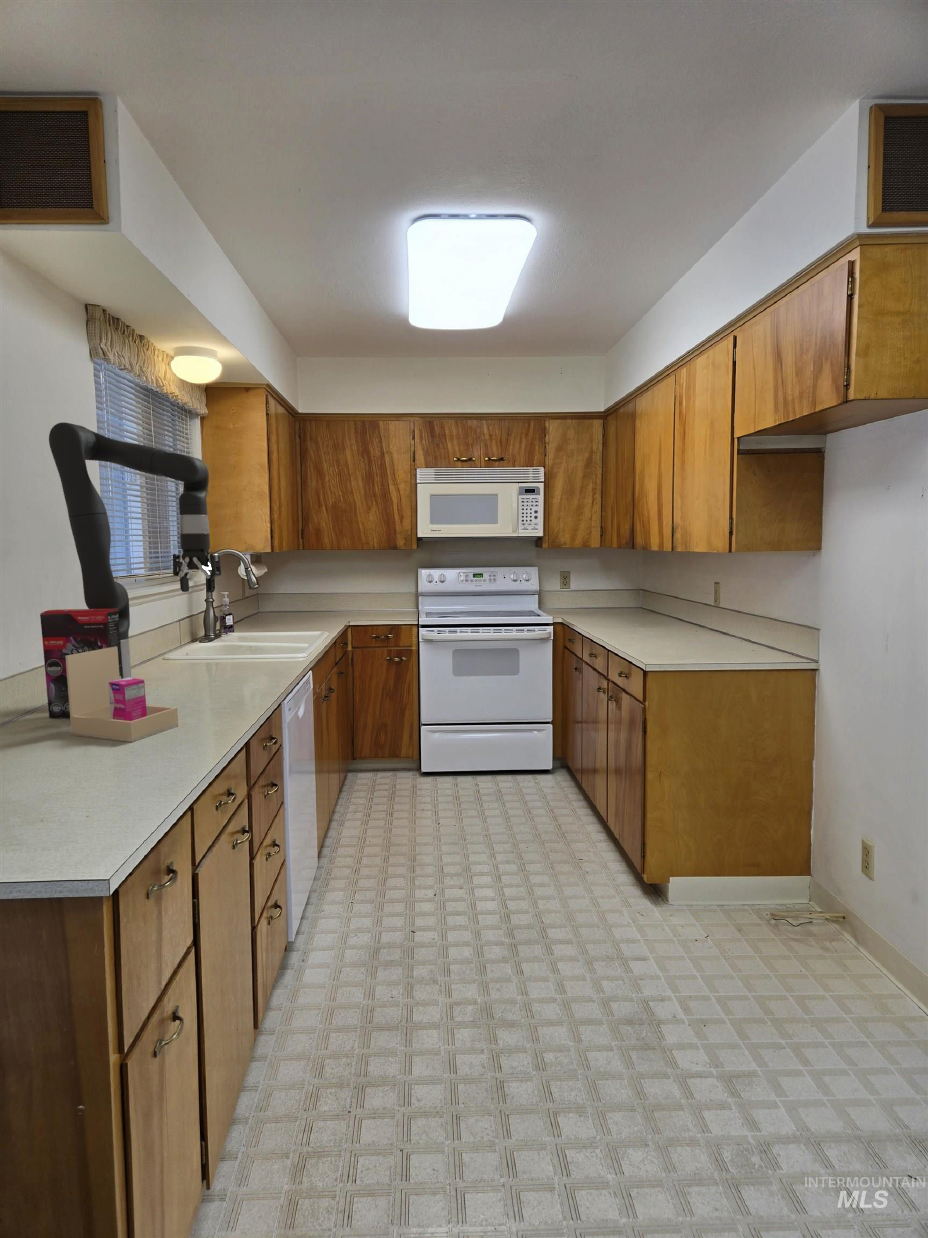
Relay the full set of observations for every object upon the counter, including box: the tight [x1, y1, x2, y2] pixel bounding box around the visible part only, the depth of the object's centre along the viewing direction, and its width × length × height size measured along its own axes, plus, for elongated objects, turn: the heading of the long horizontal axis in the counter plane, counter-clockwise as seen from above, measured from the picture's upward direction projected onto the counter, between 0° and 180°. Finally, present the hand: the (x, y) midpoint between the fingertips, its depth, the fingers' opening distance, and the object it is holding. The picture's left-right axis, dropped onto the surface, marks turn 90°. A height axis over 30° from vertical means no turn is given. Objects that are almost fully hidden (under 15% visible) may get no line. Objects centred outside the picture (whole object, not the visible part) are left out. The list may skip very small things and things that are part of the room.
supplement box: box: [108, 677, 147, 721], centre depth 164 cm, size 6×6×12 cm
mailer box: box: [65, 647, 179, 743], centre depth 164 cm, size 18×14×18 cm
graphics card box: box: [39, 608, 123, 719], centre depth 178 cm, size 17×7×27 cm, turn 91°
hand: (198, 592), depth 191 cm, fingers open, 8 cm apart
